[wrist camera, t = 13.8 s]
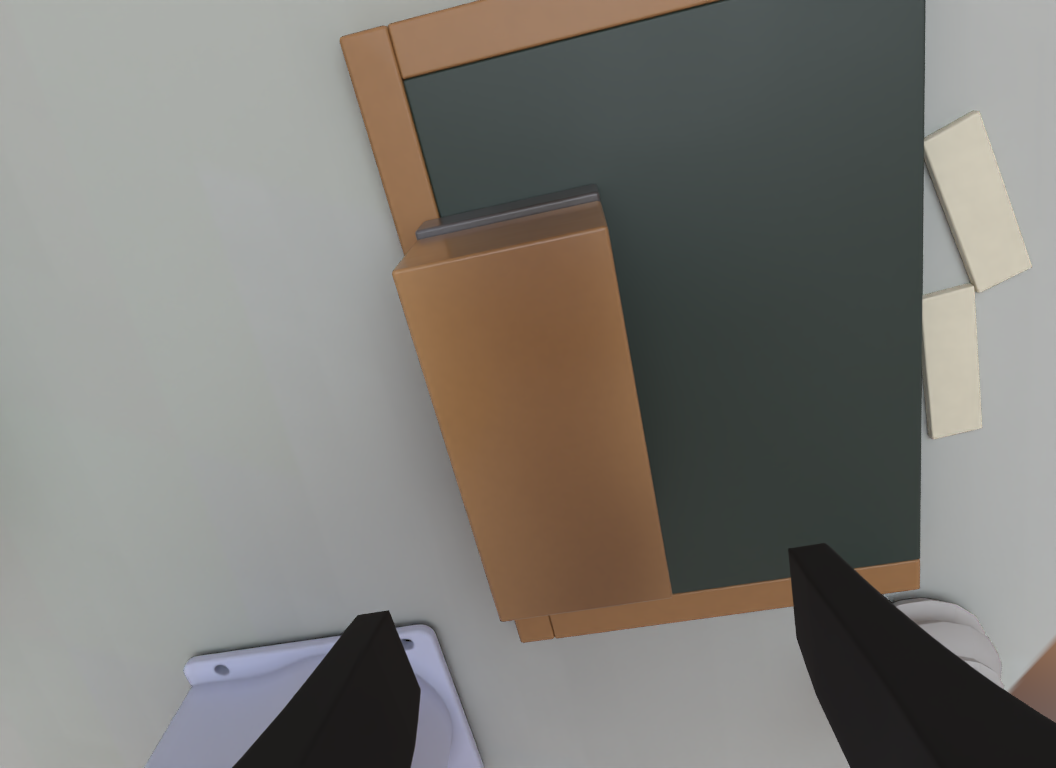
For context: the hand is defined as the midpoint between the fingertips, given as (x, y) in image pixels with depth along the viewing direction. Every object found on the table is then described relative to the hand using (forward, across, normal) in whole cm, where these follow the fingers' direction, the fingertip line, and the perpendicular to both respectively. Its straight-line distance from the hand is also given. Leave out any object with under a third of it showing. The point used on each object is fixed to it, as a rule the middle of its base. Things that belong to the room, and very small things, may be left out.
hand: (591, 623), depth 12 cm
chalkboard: (+9, -3, -1) cm, 10 cm away
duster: (+8, +1, -1) cm, 8 cm away
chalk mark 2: (+9, -10, +1) cm, 14 cm away
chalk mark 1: (+9, -11, -3) cm, 15 cm away
